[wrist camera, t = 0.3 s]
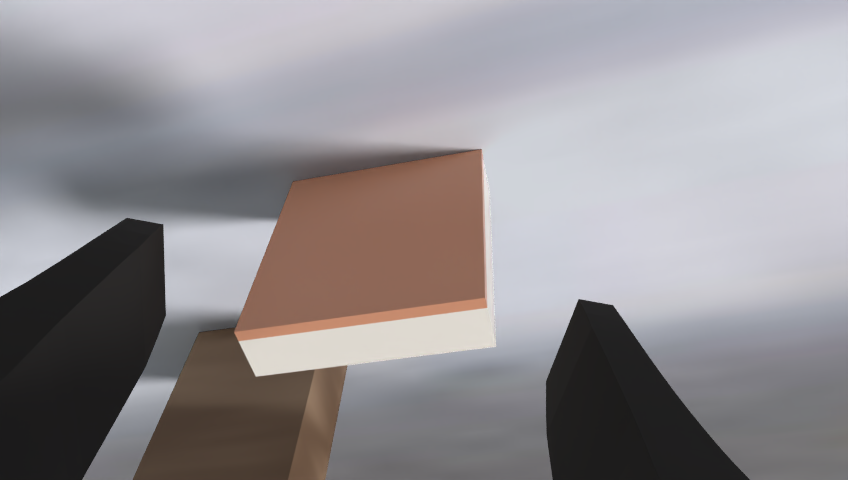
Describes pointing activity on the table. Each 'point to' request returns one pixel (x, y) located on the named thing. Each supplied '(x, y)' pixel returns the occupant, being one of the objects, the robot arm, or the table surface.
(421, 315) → the tile
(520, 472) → the table surface
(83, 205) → the table surface
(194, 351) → the tall wooden plank
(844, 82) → the table surface
